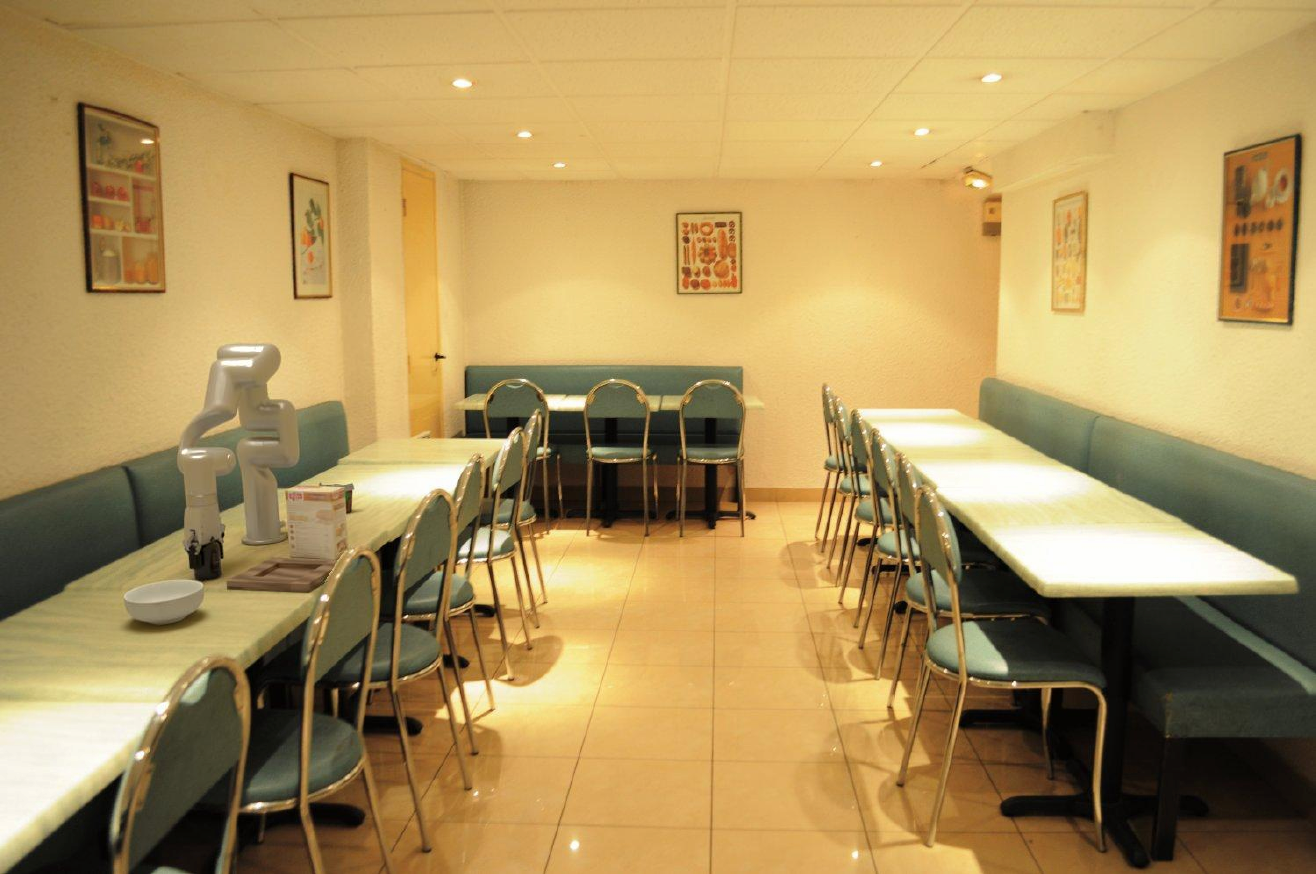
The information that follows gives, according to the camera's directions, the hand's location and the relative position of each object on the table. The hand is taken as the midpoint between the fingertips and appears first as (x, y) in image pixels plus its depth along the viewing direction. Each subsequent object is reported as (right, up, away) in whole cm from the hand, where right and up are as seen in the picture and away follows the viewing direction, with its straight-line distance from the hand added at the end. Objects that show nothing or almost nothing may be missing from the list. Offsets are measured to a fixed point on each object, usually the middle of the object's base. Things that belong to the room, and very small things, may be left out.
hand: (206, 563), depth 271 cm
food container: (+11, +7, +72) cm, 73 cm away
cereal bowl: (+5, -9, -32) cm, 34 cm away
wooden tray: (+22, -4, -1) cm, 22 cm away
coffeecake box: (+23, 0, +21) cm, 31 cm away
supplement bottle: (0, -4, +1) cm, 4 cm away
